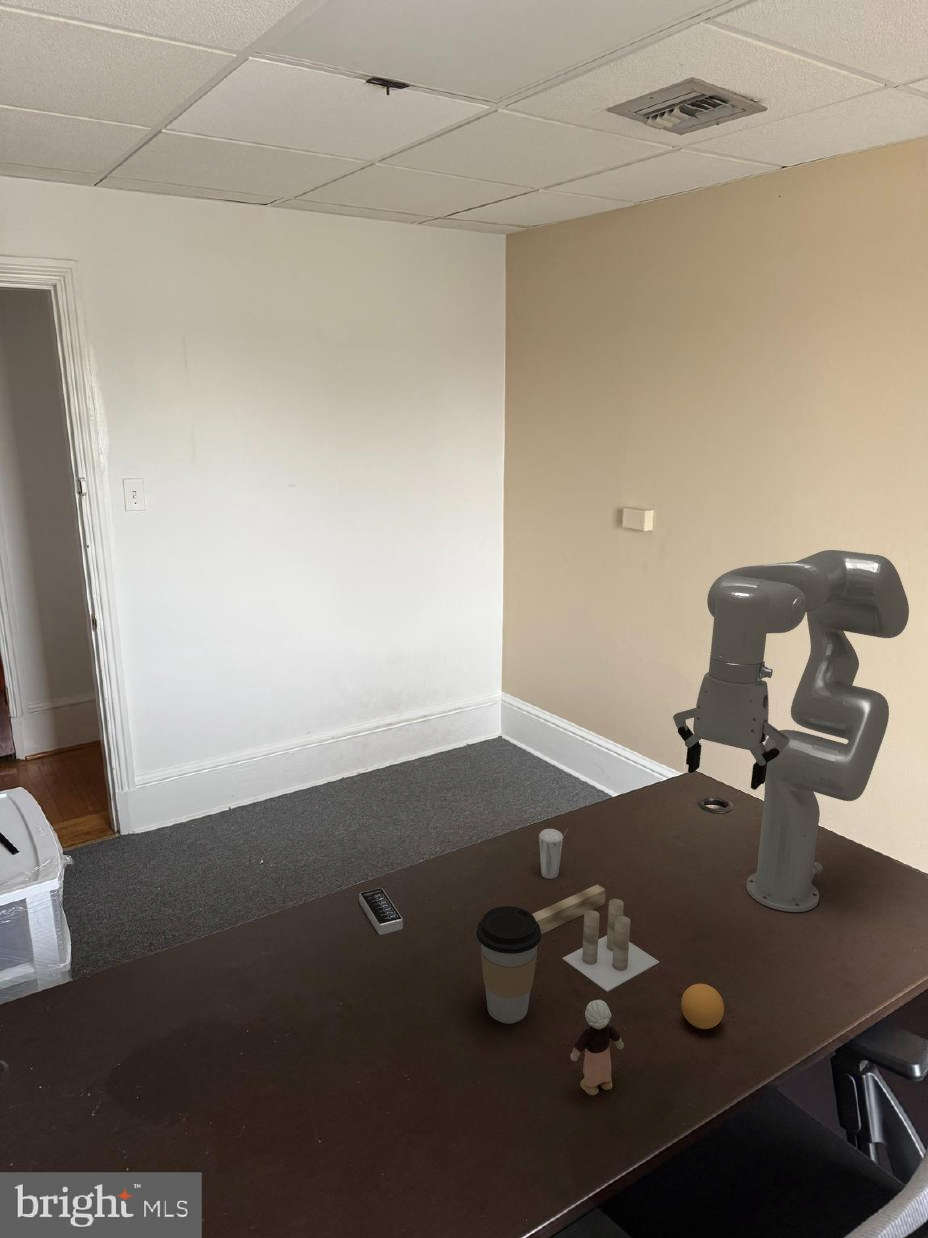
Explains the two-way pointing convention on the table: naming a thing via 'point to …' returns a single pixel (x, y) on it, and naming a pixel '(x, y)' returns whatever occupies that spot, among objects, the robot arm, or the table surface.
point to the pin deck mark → (603, 967)
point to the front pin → (621, 943)
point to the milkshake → (550, 852)
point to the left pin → (590, 937)
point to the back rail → (570, 908)
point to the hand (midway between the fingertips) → (724, 778)
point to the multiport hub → (381, 911)
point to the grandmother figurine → (596, 1048)
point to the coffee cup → (508, 960)
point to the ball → (702, 1006)
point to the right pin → (613, 920)
